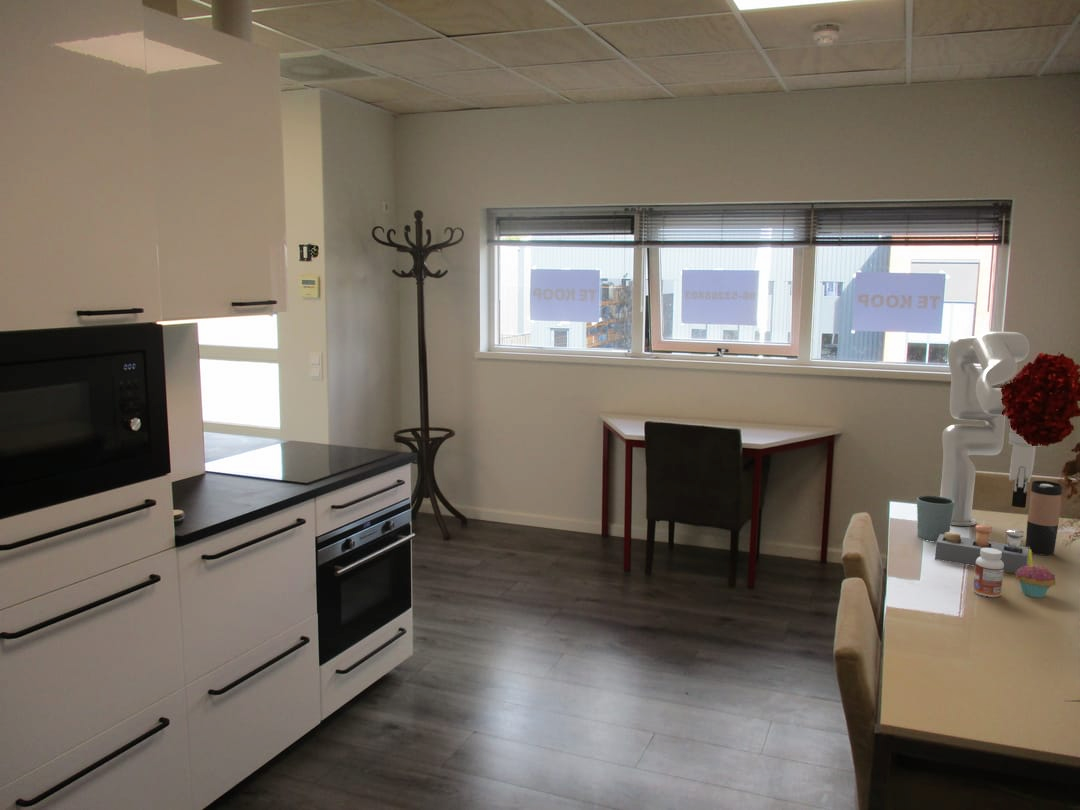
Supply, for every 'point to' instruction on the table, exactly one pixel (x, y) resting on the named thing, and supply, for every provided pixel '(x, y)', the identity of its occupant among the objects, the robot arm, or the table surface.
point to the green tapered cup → (933, 516)
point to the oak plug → (952, 537)
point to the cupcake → (1034, 579)
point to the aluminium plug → (1014, 540)
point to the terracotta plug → (983, 535)
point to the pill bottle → (988, 573)
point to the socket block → (978, 553)
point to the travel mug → (1043, 517)
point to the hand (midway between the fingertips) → (1018, 506)
